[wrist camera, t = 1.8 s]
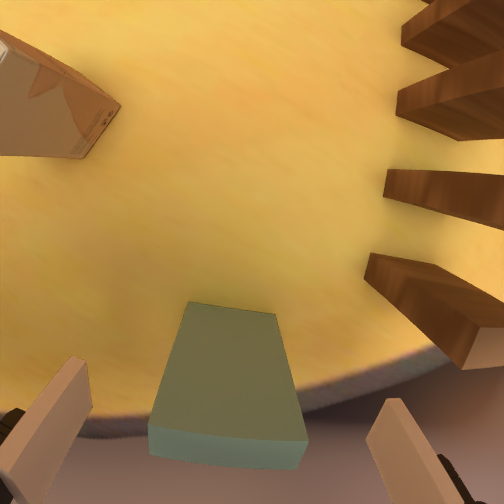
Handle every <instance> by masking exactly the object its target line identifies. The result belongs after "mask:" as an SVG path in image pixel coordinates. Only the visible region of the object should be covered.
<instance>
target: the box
mask: <svg viewBox="0 0 504 504" xmlns="http://www.w3.org/2000/svg"><path fill="white" fill-rule="evenodd" d="M119 108H120V104H119V103H117V102H116V101H115V100H114V99H113V98H111V97H110V96H109V95H108V94H106V93H105V92H104V91H103V90H101V89H100V88H99V87H97V86H96V85H95V84H94V83H92V82H91V81H90V80H88V79H87V78H86V77H84V76H83V75H82V74H80V73H79V72H77V71H76V70H74V69H73V68H71V67H69V66H67V65H66V64H64V63H62V62H60V61H59V60H57V59H55V58H53V57H52V56H50V55H48V54H46V53H44V52H42V51H41V50H39V49H37V48H35V47H33V46H31V45H29V44H27V43H25V42H23V41H21V40H20V39H18V38H16V37H14V36H12V35H10V34H8V33H6V32H4V31H2V30H0V156H33V157H56V158H75V159H83V158H84V157H85V155H86V154H87V152H88V151H89V150H90V148H91V147H92V145H93V144H94V143H95V141H96V140H97V139H98V137H99V136H100V134H101V133H102V132H103V130H104V129H105V127H106V126H107V125H108V123H109V122H110V121H111V119H112V118H113V116H114V115H115V114H116V112H117V111H118V109H119Z"/></svg>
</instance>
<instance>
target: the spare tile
mask: <svg viewBox="0 0 504 504" xmlns="http://www.w3.org/2000/svg"><path fill="white" fill-rule="evenodd" d="M148 442H149V454H150V455H154V456H158V457H164V458H169V459H175V460H181V461H187V462H194V463H201V464H208V465H217V466H227V467H238V468H239V467H240V468H255V469H291V470H293V469H297V466H298V464H299V462H300V460H301V458H302V455H303V454H304V451H305V449H306V447H307V445H308V443H309V439H308V436H307V432H306V428H305V424H304V420H303V417H302V413H301V409H300V405H299V402H298V398H297V394H296V390H295V386H294V383H293V379H292V375H291V371H290V368H289V364H288V360H287V356H286V353H285V349H284V345H283V341H282V338H281V334H280V330H279V327H278V323H277V319H276V315H275V314H269V313H262V312H254V311H247V310H240V309H233V308H226V307H219V306H213V305H206V304H200V303H194V302H188V305H187V307H186V310H185V313H184V316H183V319H182V322H181V324H180V327H179V330H178V333H177V336H176V339H175V342H174V345H173V348H172V351H171V354H170V357H169V360H168V363H167V366H166V369H165V372H164V375H163V378H162V381H161V384H160V387H159V390H158V393H157V396H156V399H155V403H154V406H153V409H152V412H151V415H150V418H149V422H148Z"/></svg>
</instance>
